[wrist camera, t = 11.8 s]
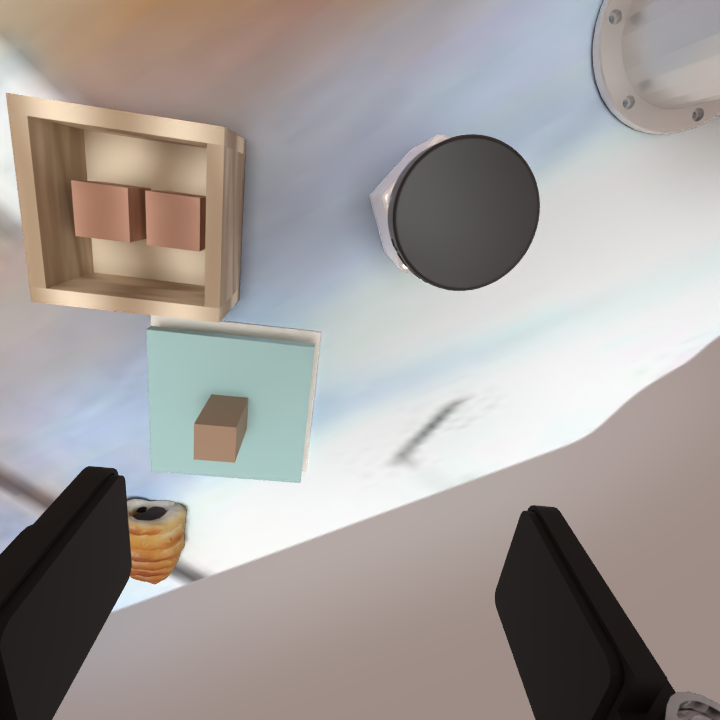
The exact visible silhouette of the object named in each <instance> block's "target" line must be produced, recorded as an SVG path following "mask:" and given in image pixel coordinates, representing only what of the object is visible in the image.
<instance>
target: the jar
mask: <svg viewBox="0 0 720 720" xmlns="http://www.w3.org/2000/svg"><path fill="white" fill-rule="evenodd" d="M370 200H371V204H372V208H373V212H374V216H375V219H376V223H377V227H378V231H379V234H380V238H381V242H382V246H383V250H384V252H385V253H386V254H387V255H388V256H389V257H390V258H391V260H392V261H393V262H394V263H395V264H396V265H397V266H398V267H399V269H400V270H401V271H404V272H408V273H413V274H414V275H416V276H417V277H418V278H419V279H422V280H423V281H424V282H426V283H429V284H431V285H433V286H436V287H439V288H442V289H446V290H453V291H466V290H473V289H478V288H481V287H484V286H487V285H489V284H491V283H493V282H495V281H497V280H499V279H500V278H502V277H503V276H505V275H506V274H507V273H508V272H510V271H511V270H512V269H513V268H514V267H515V266H516V265H517V264H518V263H519V261H520V260H521V259H522V258H523V256H524V255H525V253H526V252H527V250H528V248H529V246H530V244H531V243H532V240H533V238H534V235H535V232H536V229H537V225H538V221H539V213H540V199H539V192H538V187H537V183H536V180H535V177H534V175H533V173H532V171H531V169H530V167H529V166H528V164H527V162H526V161H525V160H524V159H523V157H522V156H521V155H520V154H519V153H518V152H517V151H516V150H514V149H513V148H512V147H511V146H509V145H507V144H506V143H504V142H502V141H500V140H498V139H495V138H492V137H489V136H484V135H474V134H472V135H461V136H456V137H452V138H451V137H447V136H444V135H440V134H439V135H436V136H434V137H432V138H431V139H429V140H427V141H425V142H423V143H421V144H420V145H418V146H416V147H414V148H412V149H410V150H409V151H408V152H407V153H406V155H405V156H404V157H403V158H402V159H401V160H400V161H399V162H398V163H397V165H396V166H395V167H394V168H393V169H392V170H391V171H390V172H389V173H388V175H387V176H386V177H385V178H384V179H383V180H382V181H381V182H380V183H379V184H378V186H377V187H376V188H375V189H374V190H373V191H372V192H371V193H370Z"/></svg>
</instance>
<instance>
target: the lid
mask: <svg viewBox="0 0 720 720" xmlns="http://www.w3.org/2000/svg"><path fill="white" fill-rule="evenodd" d="M314 349H315V344H313V343H304V342H295V341H286V340H277V339H267V338H258V337H249V336H240V335H230V334H221V333H212V332H203V331H194V330H184V329H175V328H166V327H157V326H151V327H149V328H148V329H147V361H148V392H149V423H150V455H151V472H164V473H177V474H190V475H203V476H217V477H230V478H243V479H256V480H269V481H282V482H295V483H300V482H301V472H302V463H303V453H304V444H305V434H306V425H307V415H308V406H309V397H310V387H311V378H312V368H313V359H314Z"/></svg>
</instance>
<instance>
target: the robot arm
mask: <svg viewBox="0 0 720 720" xmlns="http://www.w3.org/2000/svg"><path fill="white" fill-rule="evenodd" d="M609 18H610V20H611V23H610V21H609ZM593 68H594V73H595V79H596V83H597V86H598V88H599V91H600V94H601V96H602V99H603V100H604V102H605V103H606V105H607V106H608V108H609V109H610V111H611V112H612V113H613V114H614V115H615V116H616V117H617V118H618V119H619V120H620V121H621V122H623V123H624V124H626V125H628V126H629V127H631V128H633V129H635V130H638V131H642V132H645V133H650V134H667V133H675V132H680V131H684V130H688V129H692V128H695V127H697V126H699V125H701V124H703V123H705V122H707V121H710V120H711V119H713V118H714V117H715V116H717V115H718V114H720V0H604V1H603V3H602V6H601V9H600V13H599V16H598V19H597V22H596V27H595V33H594V40H593ZM623 102H624V106H623ZM131 568H132V559H131V547H130V534H129V522H128V509H127V497H126V484H125V478H124V476H120V475H118V472H117V470H116V469H114V468H104V467H93V466H88V467H86V468H85V469H83V470H82V471H81V472H80V474H79V475H78V476H77V477H76V478H75V479H74V480H73V481H72V482H71V483H70V485H69V486H68V487H67V488H66V489H65V490H64V491H63V492H62V493H61V494H60V496H59V497H58V498H57V499H56V500H55V501H54V502H53V503H52V504H51V505H50V506H49V508H48V509H47V510H46V511H45V512H44V513H43V514H42V515H41V516H40V517H39V519H38V520H37V521H36V522H35V523H34V524H33V525H30V526H28V527H26V528H25V529H24V530H23V531H22V532H21V533H20V534H19V535H18V536H17V537H16V538H15V539H14V540H13V541H12V542H11V543H10V545H9V546H8V547H7V548H6V549H5V550H4V551H3V552H2V553H1V554H0V720H52V719H53V717H54V715H55V713H56V711H57V709H58V708H59V706H60V704H61V702H62V700H63V699H64V697H65V695H66V693H67V691H68V689H69V688H70V686H71V684H72V682H73V680H74V678H75V677H76V675H77V673H78V671H79V669H80V667H81V666H82V664H83V662H84V660H85V658H86V657H87V655H88V653H89V651H90V649H91V647H92V646H93V644H94V642H95V640H96V638H97V636H98V634H99V633H100V631H101V629H102V627H103V625H104V623H105V622H106V620H107V618H108V616H109V614H110V613H111V611H112V609H113V607H114V605H115V604H116V602H117V600H118V598H119V596H120V594H121V593H122V591H123V589H124V587H125V585H126V583H127V581H128V579H129V576H130V573H131ZM495 603H496V608H497V611H498V614H499V617H500V619H501V622H502V625H503V628H504V631H505V634H506V636H507V639H508V642H509V645H510V648H511V651H512V653H513V657H514V659H515V662H516V665H517V668H518V671H519V674H520V677H521V679H522V682H523V685H524V688H525V691H526V694H527V697H528V699H529V702H530V705H531V708H532V711H533V713H534V717H535V719H536V720H720V705H719V704H718V703H717V702H715V701H713V700H711V699H708V698H707V697H705V696H703V695H700V694H696V693H692V692H677V693H676V692H675V691H674V689H673V688H672V686H671V685H670V683H669V682H668V680H667V677H666V676H665V674H664V673H663V671H662V670H661V668H660V666H659V665H658V663H657V662H656V660H655V659H654V657H653V656H652V654H651V652H650V651H649V649H648V648H647V647H646V645H645V643H644V642H643V640H642V638H641V637H640V635H639V634H638V632H637V631H636V629H635V628H634V626H633V624H632V623H631V621H630V620H629V618H628V617H627V615H626V614H625V612H624V611H623V609H622V607H621V606H620V604H619V603H618V601H617V600H616V598H615V596H614V595H613V593H612V592H611V590H610V589H609V587H608V586H607V584H606V583H605V581H604V580H603V578H602V576H601V575H600V573H599V572H598V570H597V568H596V567H595V565H594V564H593V562H592V561H591V559H590V558H589V556H588V555H587V553H586V551H585V550H584V548H583V547H582V545H581V544H580V542H579V541H578V539H577V537H576V536H575V534H574V533H573V531H572V530H571V528H570V527H569V525H568V523H567V522H566V520H565V519H564V517H563V516H562V514H561V513H560V511H559V510H558V509H557V508H555V507H546V506H535V505H534V506H530V508H528V511H523V512H522V513H521V515H520V518H519V521H518V524H517V527H516V530H515V533H514V536H513V539H512V542H511V546H510V549H509V551H508V554H507V557H506V560H505V564H504V567H503V570H502V573H501V576H500V579H499V582H498V585H497V588H496V592H495Z"/></svg>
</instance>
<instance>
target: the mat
mask: <svg viewBox="0 0 720 720" xmlns="http://www.w3.org/2000/svg"><path fill="white" fill-rule="evenodd" d="M151 326H157V327H166V328H175V329H184V330H194V331H203V332H212V333H221V334H230V335H240V336H249V337H258V338H267V339H277V340H286V341H295V342H304V343H313V344H315V349H314V359H313V368H312V378H311V387H310V397H309V406H308V415H307V425H306V434H305V444H304V453H303V463H302V471H304V472H306V466H307V456H308V447H309V438H310V429H311V420H312V411H313V402H314V393H315V384H316V375H317V366H318V357H319V347H320V338H321V332H317V331H308V330H299V329H290V328H281V327H272V326H263V325H254V324H245V323H236V322H227V321H220V322H219V323H217V322H208V321H199V320H190V319H181V318H172V317H163V316H154V315H151Z"/></svg>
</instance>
